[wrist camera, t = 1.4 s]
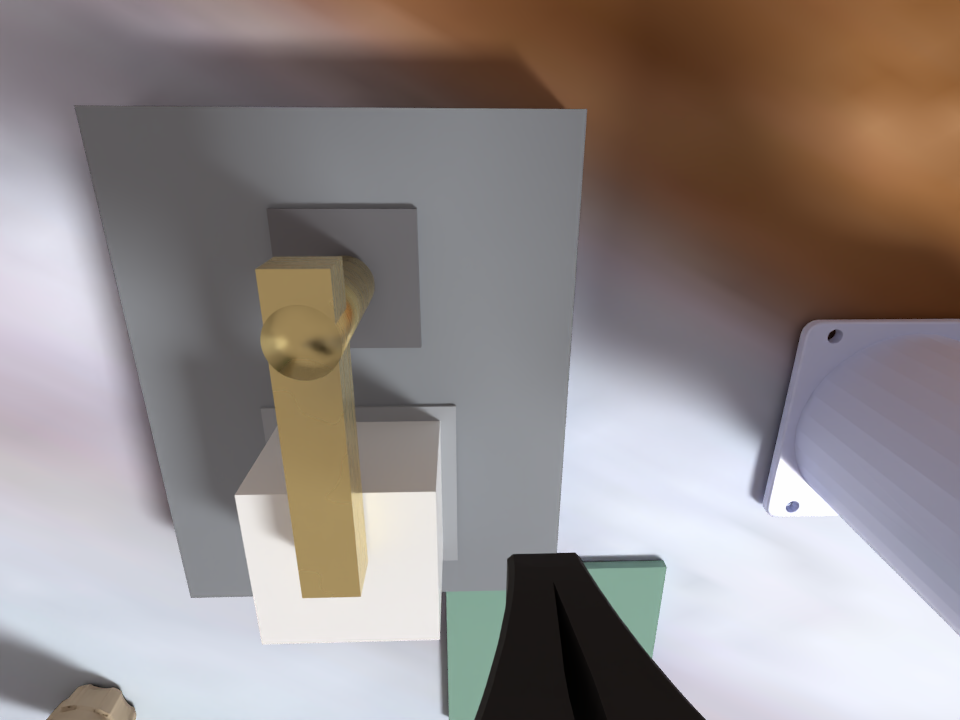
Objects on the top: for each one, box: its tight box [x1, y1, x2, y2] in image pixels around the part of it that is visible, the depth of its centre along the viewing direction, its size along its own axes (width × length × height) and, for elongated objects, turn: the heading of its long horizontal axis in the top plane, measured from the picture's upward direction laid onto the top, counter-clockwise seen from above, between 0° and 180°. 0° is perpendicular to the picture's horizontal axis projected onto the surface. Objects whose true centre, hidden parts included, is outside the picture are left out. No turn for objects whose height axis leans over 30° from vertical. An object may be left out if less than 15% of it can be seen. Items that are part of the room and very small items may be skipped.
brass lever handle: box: [255, 256, 375, 598], centre depth 14 cm, size 2×8×5 cm, turn 0°
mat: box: [446, 560, 667, 720], centre depth 25 cm, size 9×9×1 cm
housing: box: [75, 106, 587, 598], centre depth 19 cm, size 13×16×3 cm
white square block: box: [235, 421, 443, 644], centre depth 17 cm, size 5×5×4 cm
